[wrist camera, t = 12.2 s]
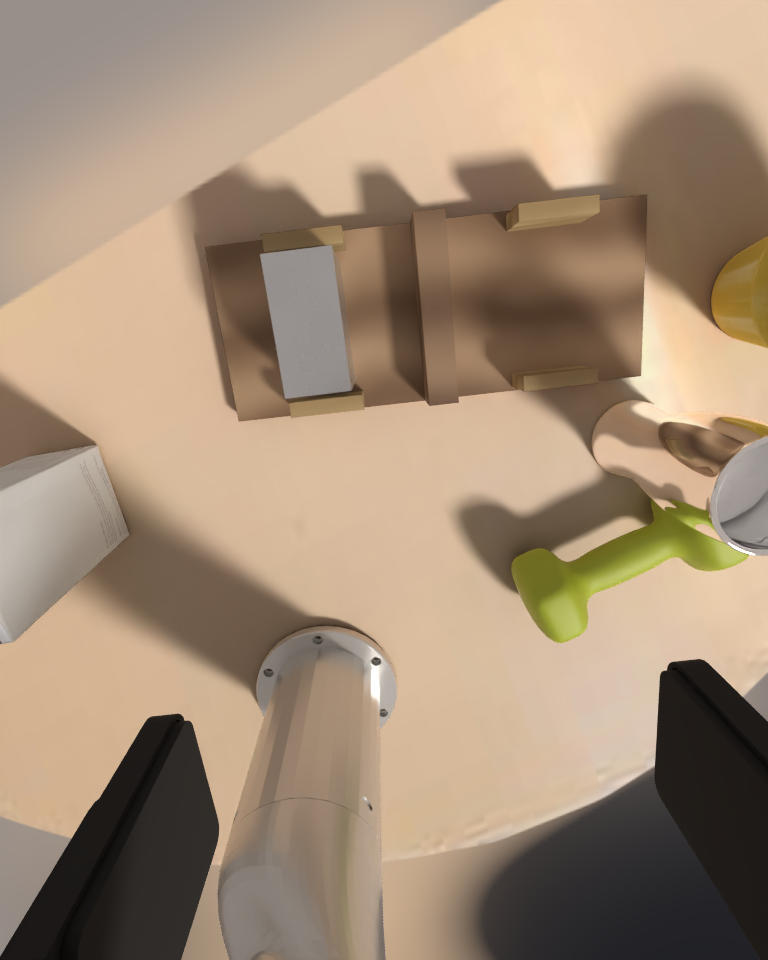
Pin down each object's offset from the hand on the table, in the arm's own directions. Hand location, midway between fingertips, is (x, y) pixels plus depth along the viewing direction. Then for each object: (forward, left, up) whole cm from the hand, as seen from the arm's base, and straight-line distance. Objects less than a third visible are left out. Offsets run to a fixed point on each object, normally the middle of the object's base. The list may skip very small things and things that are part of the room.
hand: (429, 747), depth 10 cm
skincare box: (-2, +25, -31) cm, 39 cm away
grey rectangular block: (+9, +4, -29) cm, 30 cm away
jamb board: (+9, -4, -30) cm, 32 cm away
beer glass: (-2, -19, -31) cm, 36 cm away
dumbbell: (-11, -17, -31) cm, 37 cm away
